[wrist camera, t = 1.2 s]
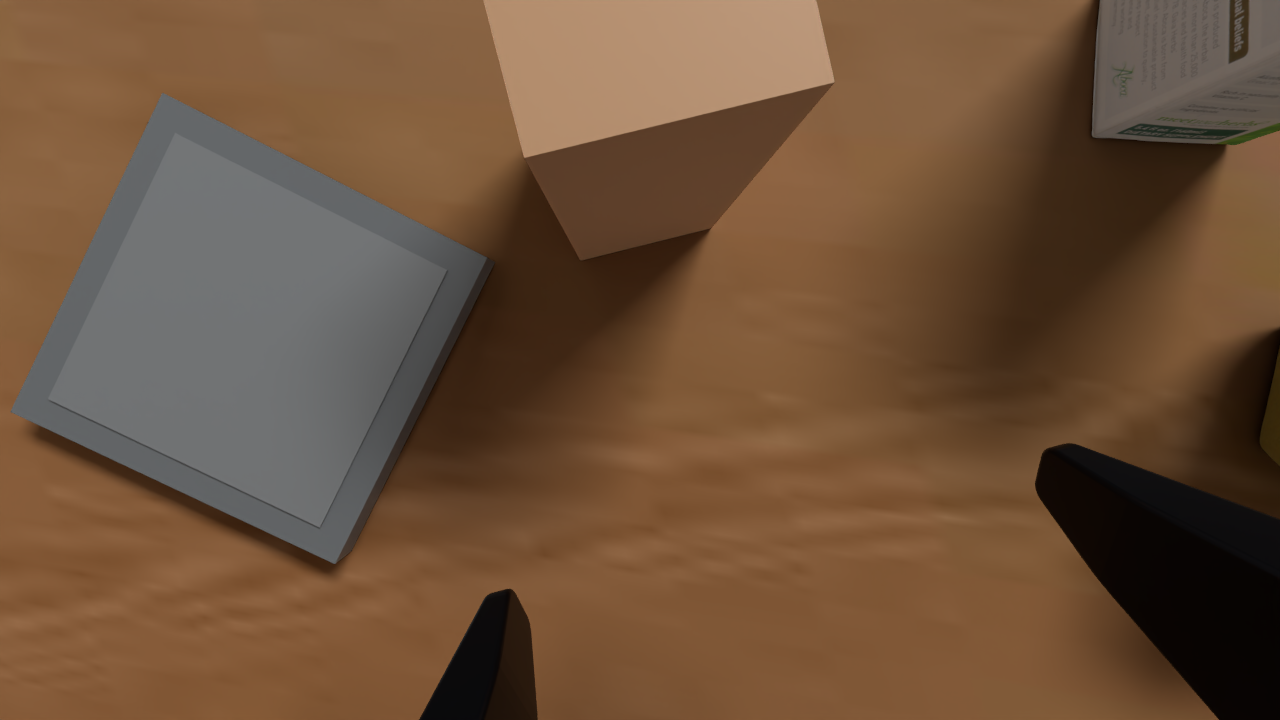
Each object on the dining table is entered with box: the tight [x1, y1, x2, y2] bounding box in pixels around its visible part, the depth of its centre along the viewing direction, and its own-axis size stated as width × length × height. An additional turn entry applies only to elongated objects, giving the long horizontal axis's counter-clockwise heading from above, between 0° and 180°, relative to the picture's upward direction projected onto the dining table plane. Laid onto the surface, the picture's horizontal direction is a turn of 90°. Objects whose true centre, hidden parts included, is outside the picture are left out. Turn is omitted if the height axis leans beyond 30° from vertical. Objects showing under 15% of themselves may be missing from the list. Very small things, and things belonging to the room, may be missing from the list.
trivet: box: [11, 93, 495, 564], centre depth 20 cm, size 12×12×1 cm
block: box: [484, 0, 835, 261], centre depth 15 cm, size 5×5×12 cm
